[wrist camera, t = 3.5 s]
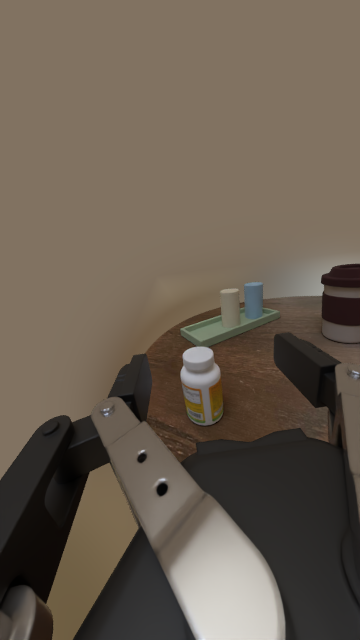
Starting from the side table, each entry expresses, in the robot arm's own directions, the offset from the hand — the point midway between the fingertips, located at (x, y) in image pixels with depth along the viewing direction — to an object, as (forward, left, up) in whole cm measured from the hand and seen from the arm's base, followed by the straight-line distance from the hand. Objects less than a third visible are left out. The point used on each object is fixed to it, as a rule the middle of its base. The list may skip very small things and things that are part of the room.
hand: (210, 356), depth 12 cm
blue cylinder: (+5, +48, -15) cm, 50 cm away
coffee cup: (+22, +35, -16) cm, 45 cm away
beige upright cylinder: (-2, +41, -15) cm, 44 cm away
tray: (-2, +41, -16) cm, 44 cm away
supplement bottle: (-4, +10, -16) cm, 20 cm away
